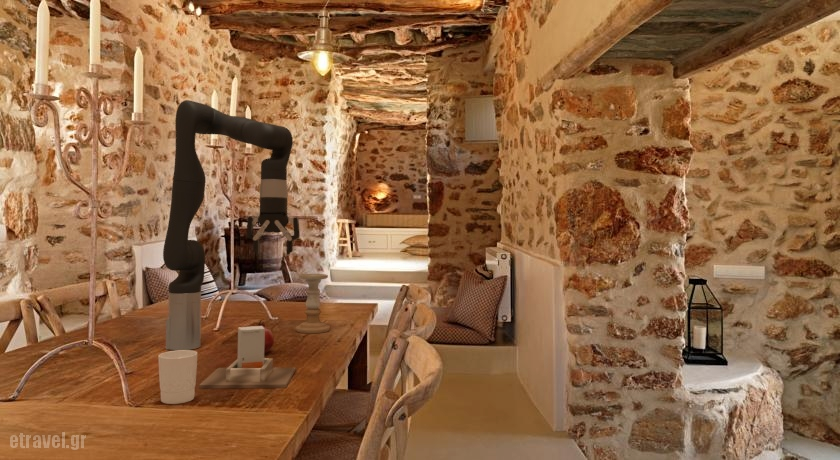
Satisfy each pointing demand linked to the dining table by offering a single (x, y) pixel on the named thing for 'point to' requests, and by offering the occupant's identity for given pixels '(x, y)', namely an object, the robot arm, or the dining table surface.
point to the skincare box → (251, 347)
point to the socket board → (249, 377)
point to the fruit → (267, 338)
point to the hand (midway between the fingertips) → (273, 254)
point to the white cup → (177, 376)
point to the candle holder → (313, 306)
